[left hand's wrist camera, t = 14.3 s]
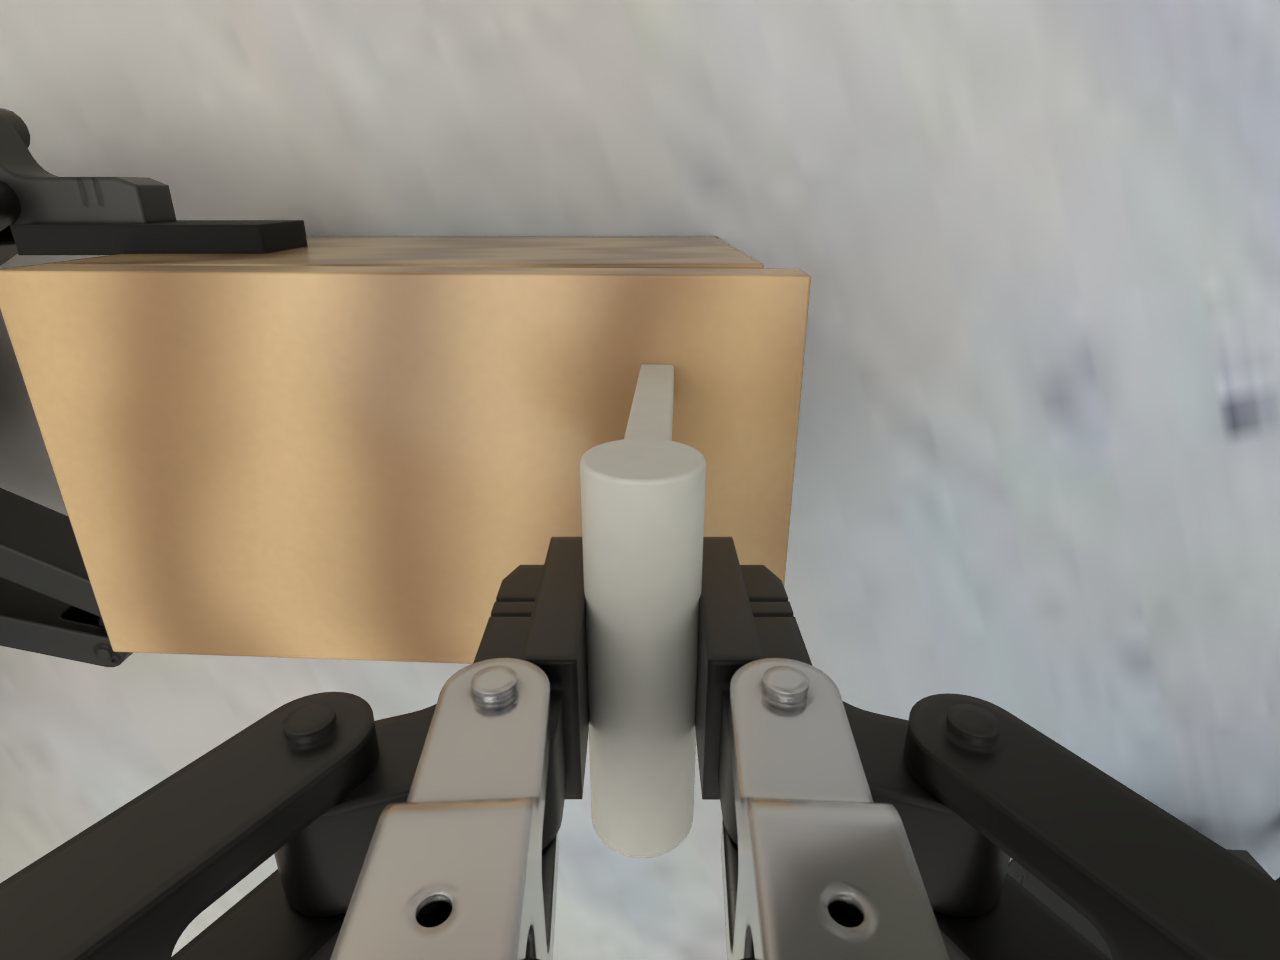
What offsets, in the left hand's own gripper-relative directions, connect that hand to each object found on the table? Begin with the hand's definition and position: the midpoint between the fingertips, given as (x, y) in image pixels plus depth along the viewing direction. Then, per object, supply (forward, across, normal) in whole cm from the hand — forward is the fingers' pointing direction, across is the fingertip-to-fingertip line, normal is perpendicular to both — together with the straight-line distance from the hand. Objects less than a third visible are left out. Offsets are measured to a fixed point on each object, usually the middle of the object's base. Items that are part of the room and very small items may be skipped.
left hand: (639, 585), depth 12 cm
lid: (+6, +5, 0) cm, 8 cm away
